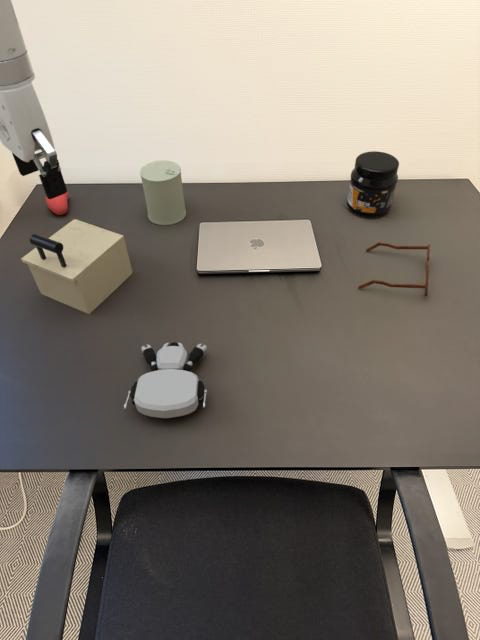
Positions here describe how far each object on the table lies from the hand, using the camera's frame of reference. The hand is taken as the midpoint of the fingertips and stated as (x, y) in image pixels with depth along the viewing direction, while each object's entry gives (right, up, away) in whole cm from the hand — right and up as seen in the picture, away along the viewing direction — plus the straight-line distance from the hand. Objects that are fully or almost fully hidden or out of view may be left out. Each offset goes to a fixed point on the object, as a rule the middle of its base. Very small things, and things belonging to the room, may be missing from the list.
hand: (43, 183), depth 75 cm
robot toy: (+20, -33, +2) cm, 39 cm away
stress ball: (-13, +6, +41) cm, 43 cm away
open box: (0, -15, +21) cm, 25 cm away
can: (+14, +3, +38) cm, 40 cm away
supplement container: (+63, +5, +38) cm, 73 cm away
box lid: (0, -9, +14) cm, 16 cm away
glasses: (+63, -13, +21) cm, 68 cm away
